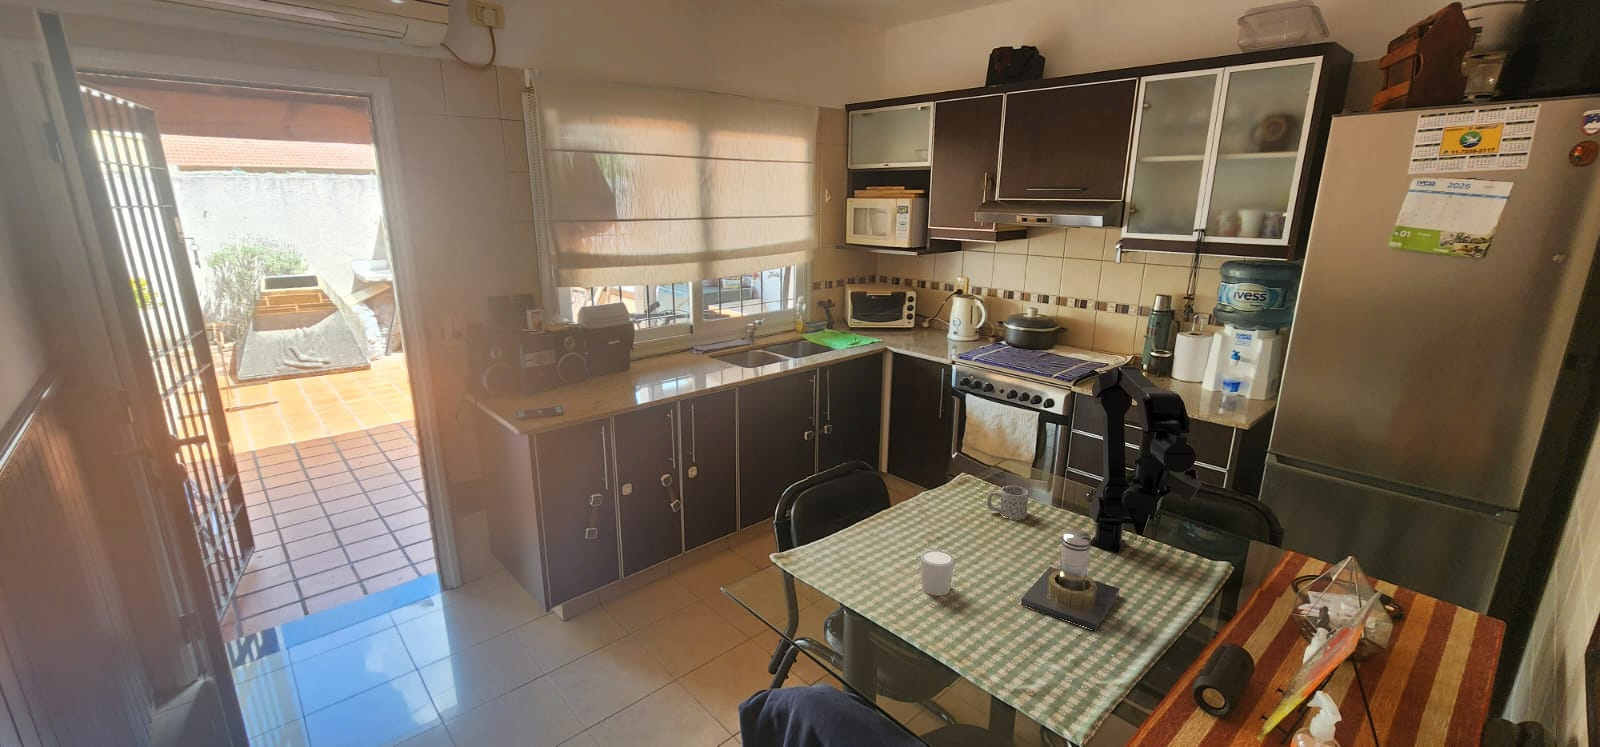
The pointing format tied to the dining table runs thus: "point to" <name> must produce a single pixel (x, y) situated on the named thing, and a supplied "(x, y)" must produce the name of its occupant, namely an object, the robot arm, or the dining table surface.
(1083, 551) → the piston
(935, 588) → the white cylinder
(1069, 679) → the dining table surface
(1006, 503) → the mug
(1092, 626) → the tube holder stand
